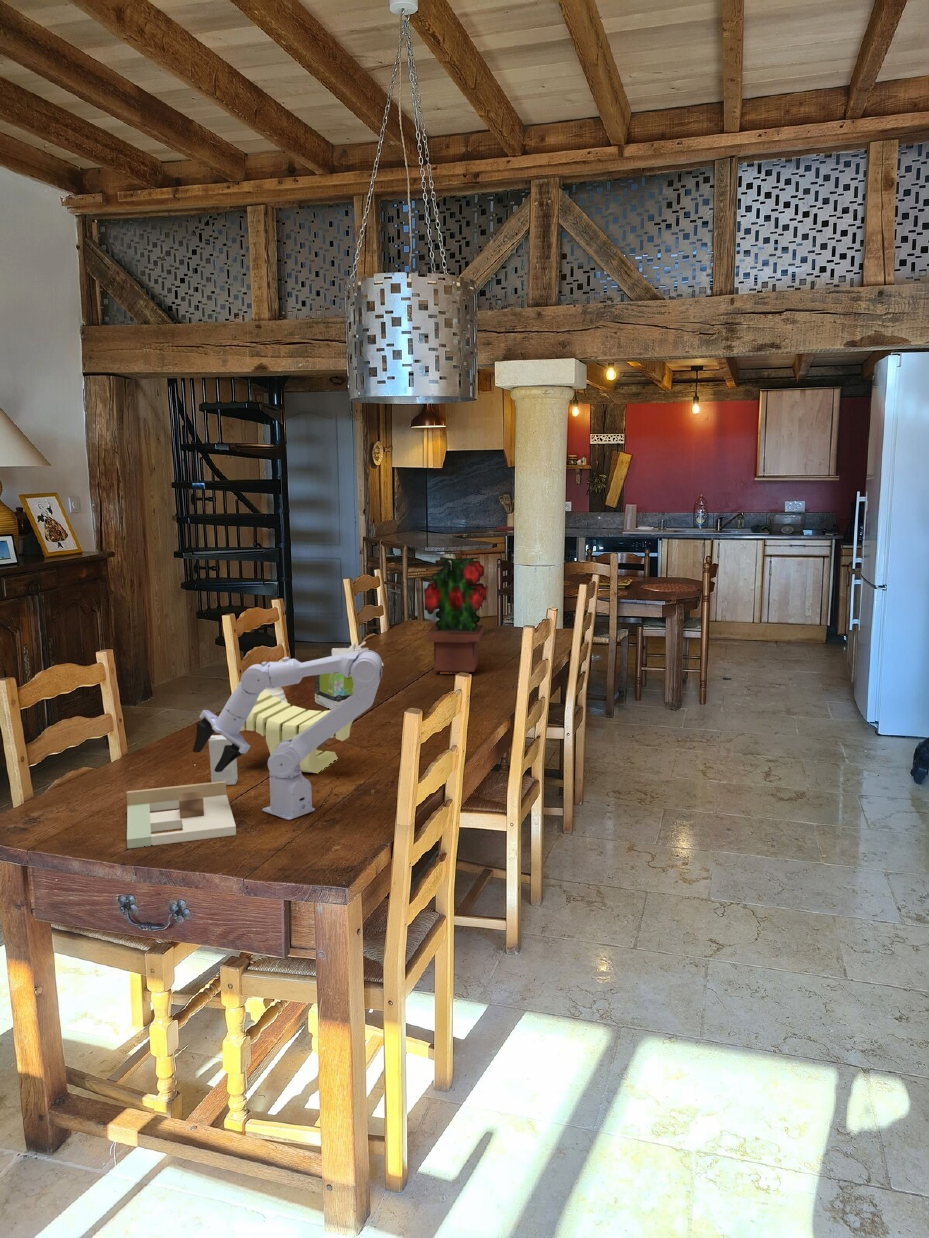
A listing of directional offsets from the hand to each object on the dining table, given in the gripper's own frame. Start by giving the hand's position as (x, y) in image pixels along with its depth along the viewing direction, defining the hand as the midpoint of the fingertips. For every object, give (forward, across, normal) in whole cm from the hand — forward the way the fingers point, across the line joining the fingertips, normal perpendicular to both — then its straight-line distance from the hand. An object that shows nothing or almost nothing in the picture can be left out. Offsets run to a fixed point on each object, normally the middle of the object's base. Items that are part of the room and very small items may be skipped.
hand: (206, 761), depth 208 cm
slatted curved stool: (+2, +2, +39) cm, 39 cm away
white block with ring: (+2, -58, +152) cm, 163 cm away
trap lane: (+12, +6, -6) cm, 15 cm away
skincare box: (+11, -4, +20) cm, 23 cm away
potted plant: (-20, -21, +160) cm, 163 cm away
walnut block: (+10, +6, -4) cm, 12 cm away
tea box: (+1, -27, +97) cm, 100 cm away
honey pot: (+12, -35, +75) cm, 83 cm away
